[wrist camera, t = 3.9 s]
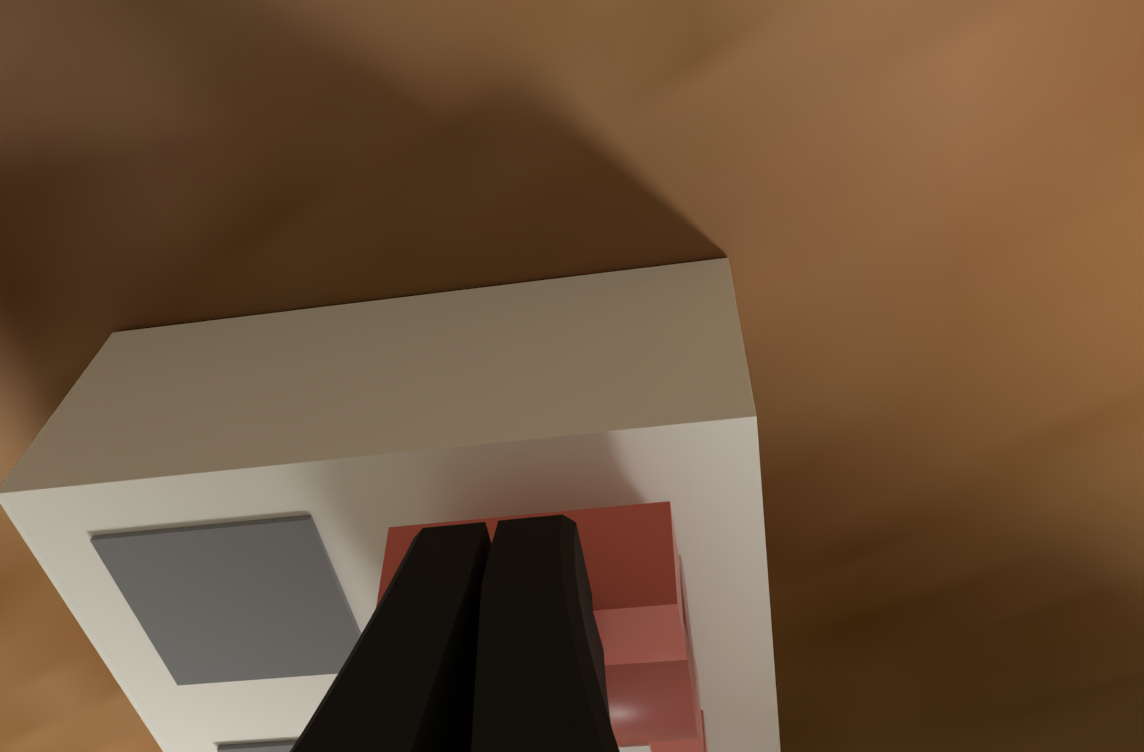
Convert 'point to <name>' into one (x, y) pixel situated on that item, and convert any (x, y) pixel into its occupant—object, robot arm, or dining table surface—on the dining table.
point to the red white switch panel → (389, 481)
